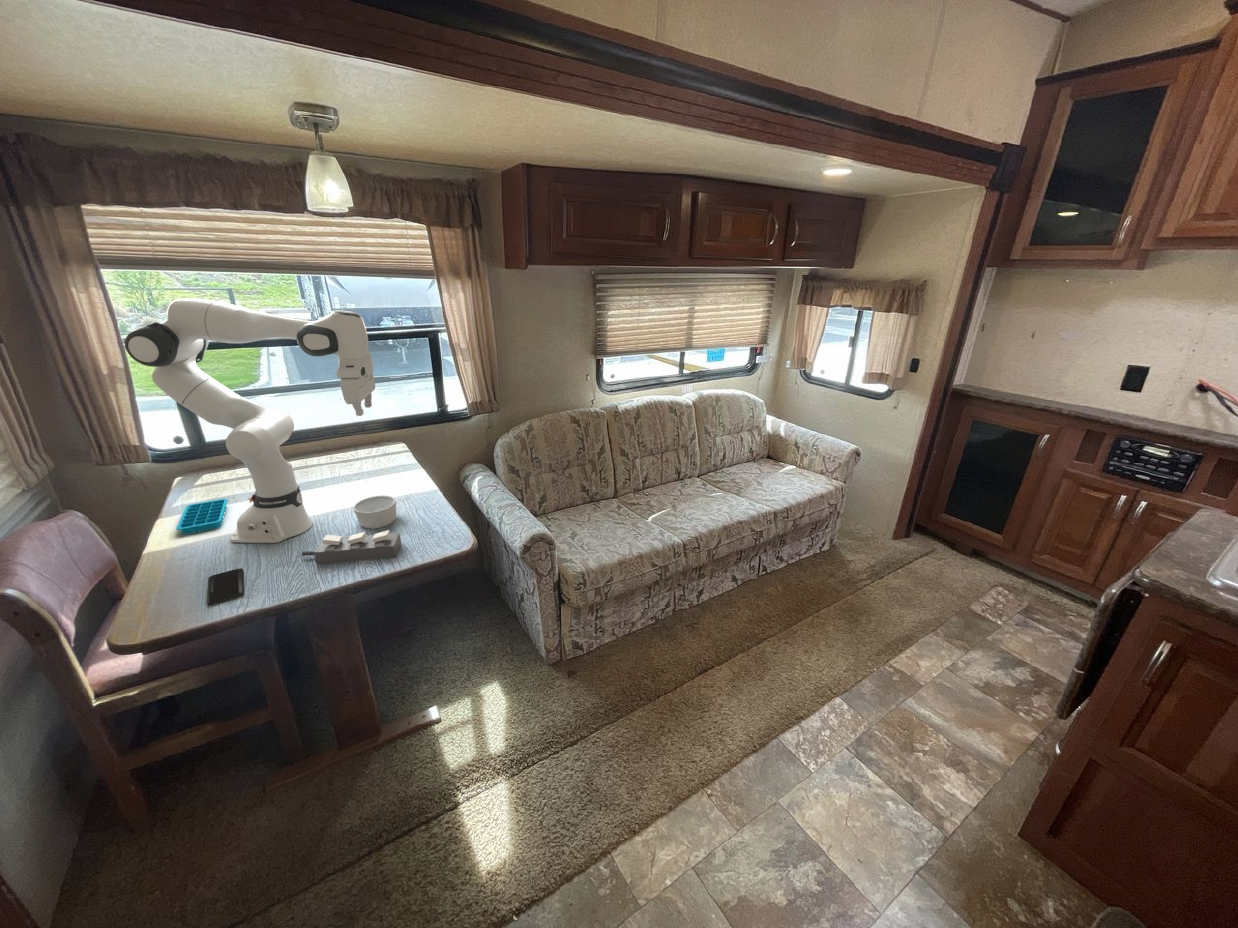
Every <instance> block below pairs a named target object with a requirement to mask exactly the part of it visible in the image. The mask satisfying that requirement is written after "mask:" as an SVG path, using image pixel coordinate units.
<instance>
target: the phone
mask: <svg viewBox="0 0 1238 928" xmlns="http://www.w3.org/2000/svg"><path fill="white" fill-rule="evenodd" d="M244 573H245V572H244V569H243V568H242V567H239V568H236V569H235V568H234V569H231V570H227V571H224V572H220V573H216V574H214V575H211V576H209V577H208V579H207V594H206V595H207V596H206V604H207V606H210V607H211V606H215V605H218V604H219V605H220V604H223V603H225V602H229V601H233V600H236V599H239V598H242V597H244V596H245V580H244V579H245V575H244Z"/></svg>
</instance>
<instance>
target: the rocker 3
mask: <svg viewBox="0 0 1238 928" xmlns="http://www.w3.org/2000/svg"><path fill="white" fill-rule="evenodd" d="M391 534H392V533H391V531H390V529H387V530H385V531H380V532H377V533H375V534H373V535H374V537H373V541H374V543H375V542H378V541H382V540H386V539H389V537H390V535H391Z"/></svg>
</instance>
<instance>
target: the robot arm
mask: <svg viewBox="0 0 1238 928" xmlns="http://www.w3.org/2000/svg"><path fill="white" fill-rule="evenodd" d="M166 315H167V316H166V320H164V321H155V322H152V323H149V324H146V325H143V326H139V327H138V328H136V329H134V330H132V331H130V333H128V334H127V335H126V337H125V340H124V347H125V350H126V352H127V354H128V355H129V357H130V358H132V359H133V360H134V361H135V362H136V363H138V364H140V365H143V366H146V367H153V368H154V370H153V371H152V375H151V379H152V382H153V383H154V384H155V385H156V386H157V387H158V389H160V390H161V391H162V392H163V393H164V394H166V395H167V396H168V397H170V398H171V399H172V400H174V401H175V402H176V403H178V404H179V405H180V406H182V407H184V408H186V409H187V410H189V411H190V412H191V413H193V414H195V415H196V416H198V417H200V418H201V419H203V420H204V421H206V422H207V423H210V424H212V425H215V426H216V425H217V426H223V427H228V428H230V429H232V430H231V431H230V433H229V434H228V435H227V437H226V439H225V446H226V449H227V451H228V453H229V454H230V455H231V456H232V457H234V458H235V459H237V460H240V461H241V462H242V463H243V464H244V466H245V468H247V470H248V472H249V473H250V476H251V479H252V483H253V486H254V489H255V493H253V494H252V495H251V497H250V498H249V499H248V500H249V503H252V502H253V504H252V505H251V506H249V507H248V508H247V509H246V510H245V511H244V512H242V514H241V515H240V516H239V517H238V519H237V521H236V529H235V530H234V531H233V532H232V533H231V535H230V538H229V539H230V542H231V543H249V544H250V543H253V544H254V543H255V544H277V543H280V542H283V541H285V540H286V539H288V538H292V537H295V536H298V535H300V534H302V533H304V532H307V531H308V530H309V529H310V528H311V527H312V526H313V521H312V519H311V518H310V516H309V514H308V513H307V510H306V509H305V506H304V503H303V502H304V501H303V496H302V492H301V489H300V486H299V485H298V483H297V479H296V475H295V471H294V467H293V465H292V464H291V463H290V462H289V461H287V460H286V459H285V457H283V455H282V453H281V449H280V447H281V445H283V444H284V443H285V442H287V441H288V440H289V438H290V437H291V435H292V434H293V432H294V430H295V422H294V420H293V419H292V417H291V416H290V415H289V414H287V413H286V412H284V411H282V410H277V409H272V408H268V407H266V406H263V405H260V404H258V403H256V402H253V401H252V400H250V399H247V398H245V397H244V396H243V397H242V396H241V395H239V394H238V393H235V391H232V390H231V389H229V388H228V387H227V386H225V385H224V384H222V383H220V382H219V381H218V380H216V379H215V378H214V377H211V376H210V375H208V374H207V373H206V372H204V371H203V370H201V369H200V368H199V367H198V365H197V363H200V362H201V361H203V359H204V356H205V352H206V351H207V349H208V347H209V344H210V342H211V341H213V342H218V343H223V344H224V343H226V344H248V343H254V342H259V341H263V340H268V339H269V340H270V339H279V338H280V339H288V340H289V339H290V340H294V341H295V340H296V343H297V345H298V347H299V349H301V351H303V352H304V353H305V354H307V355H309V356H312V357H325V356H328V355H336V356H337V360H338V365H337V366H338V367H337V369H336V371H335V373H336V377H337V379H339V385H340V389H341V393H342V396H343V399H344V402H345V403H346V404H347V405H352V408H353V410H354V411H355V415H356V417H362V416H363V415H364V414H365V413H364V409H363V407H362V401H363V404H364V407H365V408H368V409H369V408H371V407H373V404H372V396H373V395H372V393H373V392H374V391H375V390H376V380H375V377H374V366H373V359H372V355H371V352H370V351H369V337H368V332H367V328H366V325H365V320H364V319H363V317H362V315H361V314H359V313H357V312H355V311H352V310H347V309H346V310H345V309H335V310H332V311H330V313H329V314H328V315H326V316H324V317H322V318H320V319H317V320H307V319H303V318H302V319H300V318H294V317H287V316H281V315H275V314H270V313H267V312H264V311H263V312H262V311H258V310H254V309H250V308H248V307H244V306H240V305H236V304H231V303H227V302H223V301H218V300H210V299H202V298H178V299H174V300H172V302H170V303H169V305H168V307H167V310H166Z"/></svg>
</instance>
